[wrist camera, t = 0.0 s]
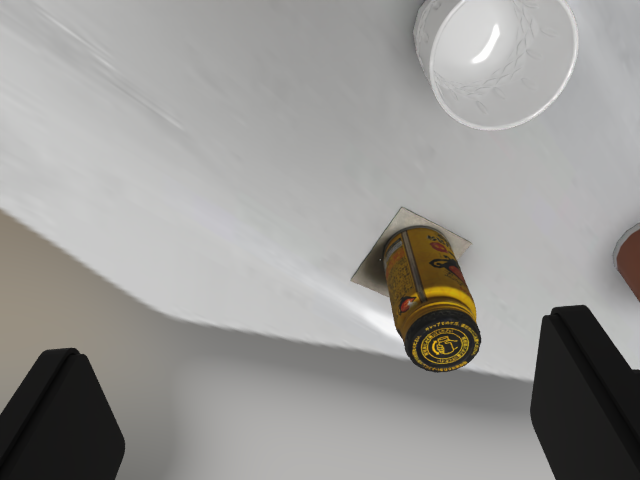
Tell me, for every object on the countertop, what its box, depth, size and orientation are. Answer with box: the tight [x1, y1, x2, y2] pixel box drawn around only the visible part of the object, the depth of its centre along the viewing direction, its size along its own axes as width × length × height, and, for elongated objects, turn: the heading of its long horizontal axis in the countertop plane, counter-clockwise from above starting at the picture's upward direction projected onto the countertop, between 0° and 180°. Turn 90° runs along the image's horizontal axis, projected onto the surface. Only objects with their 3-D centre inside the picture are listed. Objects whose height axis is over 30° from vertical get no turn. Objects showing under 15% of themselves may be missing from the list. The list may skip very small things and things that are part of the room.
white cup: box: [413, 0, 579, 131], centre depth 32 cm, size 8×8×10 cm
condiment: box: [351, 208, 481, 372], centre depth 41 cm, size 7×8×12 cm
